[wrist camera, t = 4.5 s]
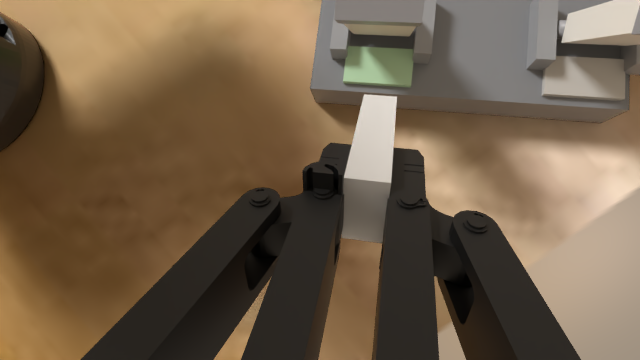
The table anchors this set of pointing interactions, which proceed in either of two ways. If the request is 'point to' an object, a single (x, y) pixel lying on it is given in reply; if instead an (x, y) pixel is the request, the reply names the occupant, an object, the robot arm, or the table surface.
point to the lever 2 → (603, 24)
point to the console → (478, 63)
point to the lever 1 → (380, 16)
